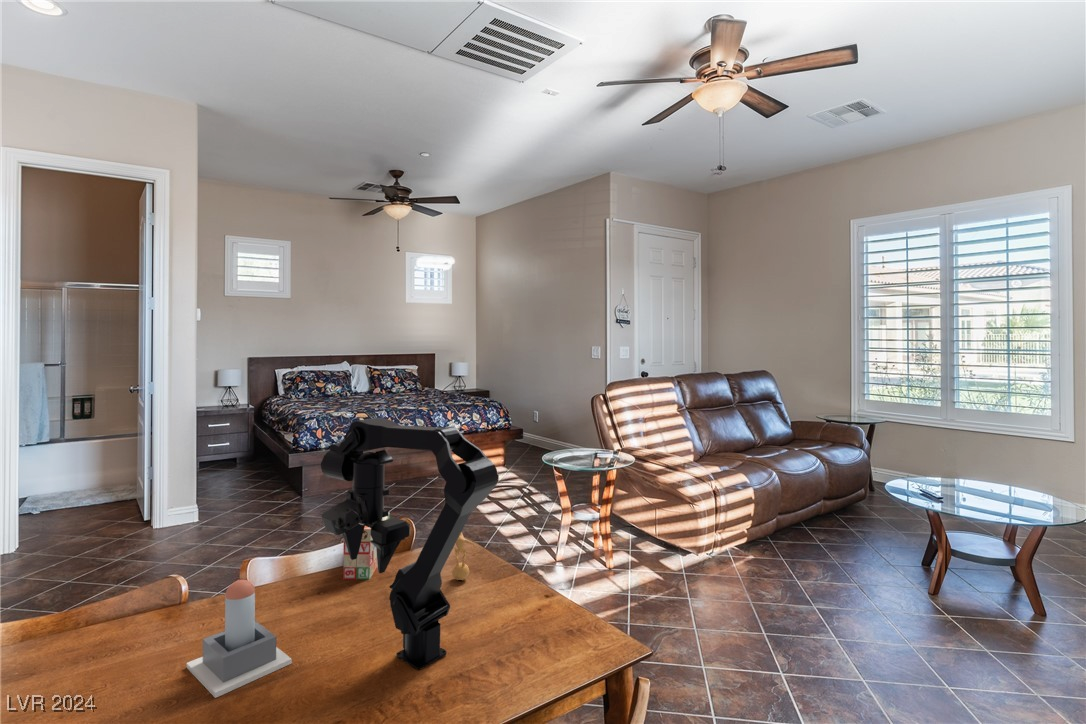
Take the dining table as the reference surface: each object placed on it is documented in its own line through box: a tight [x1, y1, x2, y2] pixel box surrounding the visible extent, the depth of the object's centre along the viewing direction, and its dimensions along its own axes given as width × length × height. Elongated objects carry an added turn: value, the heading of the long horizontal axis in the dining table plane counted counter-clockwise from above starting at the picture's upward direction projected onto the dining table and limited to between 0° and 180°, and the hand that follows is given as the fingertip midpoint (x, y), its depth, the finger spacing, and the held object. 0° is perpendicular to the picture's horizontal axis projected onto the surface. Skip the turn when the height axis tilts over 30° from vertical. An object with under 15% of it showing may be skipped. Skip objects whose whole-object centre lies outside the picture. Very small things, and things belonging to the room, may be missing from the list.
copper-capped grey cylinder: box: [224, 579, 256, 652], centre depth 92 cm, size 4×4×14 cm
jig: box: [186, 620, 293, 699], centre depth 92 cm, size 12×12×5 cm
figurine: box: [451, 532, 479, 581], centre depth 126 cm, size 8×6×12 cm
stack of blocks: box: [342, 512, 391, 580], centre depth 137 cm, size 21×6×12 cm, turn 3°
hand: (367, 565), depth 103 cm, fingers open, 9 cm apart
